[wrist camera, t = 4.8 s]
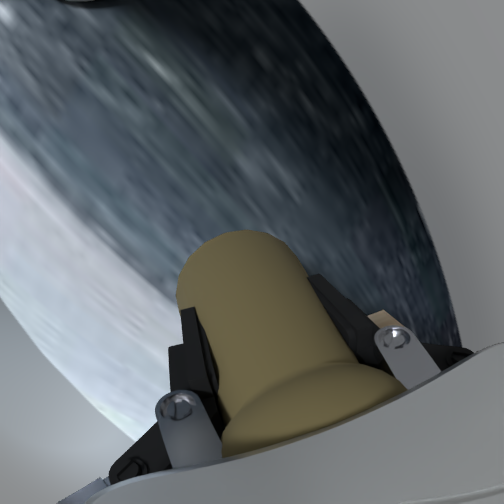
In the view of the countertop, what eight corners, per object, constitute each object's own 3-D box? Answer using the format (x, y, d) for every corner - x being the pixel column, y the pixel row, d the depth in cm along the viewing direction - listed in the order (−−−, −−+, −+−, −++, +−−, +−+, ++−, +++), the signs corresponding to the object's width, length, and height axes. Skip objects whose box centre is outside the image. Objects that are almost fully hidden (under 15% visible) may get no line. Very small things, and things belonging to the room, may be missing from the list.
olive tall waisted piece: (326, 277, 16) (488, 436, 5) (249, 363, 16) (330, 554, 6) (233, 201, 13) (414, 391, 3) (150, 308, 14) (155, 559, 4)
